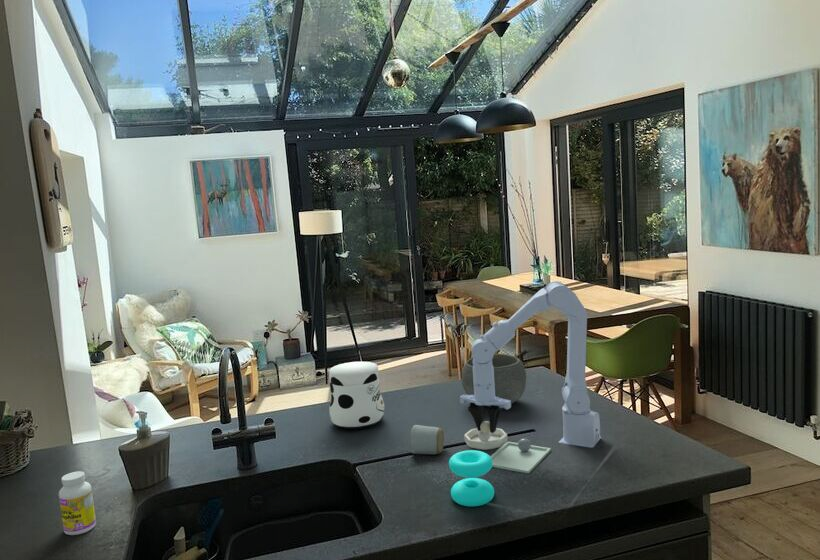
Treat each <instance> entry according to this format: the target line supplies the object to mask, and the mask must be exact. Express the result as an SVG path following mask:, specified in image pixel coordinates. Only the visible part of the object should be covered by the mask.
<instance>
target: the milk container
mask: <svg viewBox="0 0 820 560" xmlns="http://www.w3.org/2000/svg"><path fill="white" fill-rule="evenodd" d="M378 366H379V365H378V364H377V363H375V362H371V361H351V362H344V363H339V364H337V365H334V366H332V367H331V368H330V369H329V373H328V375H329V376H328V377H329V379H328V380H329V390H330V403H329V408H328V409H329V410H328V412H329V417H330V420H331V423H333V424H334V425H335V426H336V427H339V428H341V429H348V430H349V429H352V430H353V429H362V428H368V427H372V426H374V425H376V424H378V423H379V422H380V421H381V420H383V419H384V417H385V402H384V398H383V395H382V392H381V387H380V386H381V385H380V374H379V373H380V371H379V367H378Z"/></svg>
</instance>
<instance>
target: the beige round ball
mask: <svg viewBox="0 0 820 560" xmlns="http://www.w3.org/2000/svg"><path fill="white" fill-rule="evenodd" d="M480 429H481V431H482V432H483V433H490V421H489V420H483V422H482V423H481V425H480Z"/></svg>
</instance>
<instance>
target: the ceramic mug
mask: <svg viewBox="0 0 820 560" xmlns="http://www.w3.org/2000/svg"><path fill="white" fill-rule="evenodd" d="M409 440H410V441H409V443H410V444H409V447H410V452H411V453H412V454H413V455H414V454H415V455H439V454H441V453H442V452H443V450H444V444H445V443H444V442H445V435H444V430H443V429H442V428H441V427H437V426H427V425H420V424H414V425H413V426H412V428H411V431H410V437H409Z"/></svg>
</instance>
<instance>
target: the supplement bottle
mask: <svg viewBox="0 0 820 560" xmlns="http://www.w3.org/2000/svg"><path fill="white" fill-rule="evenodd" d="M85 480H86V474H85V472H84V471H81V470H80V471H79V470H78V471H73V472H69V473H67V474H64V475H63V476H62V477H61V484H62V488H61V489H60V490H59V491H58V499H59V500H58V501H59V507H60V512H61V513H60V514H61V521H62V526H63V527H62V528H63V532H64V533H65V535H69V536H77V535H82V534H84V533H87V532H89V531H91V530H92V529H93V528H94V527H96V524H97V520H96V519H97V518H96V512H95V511H96V510H95V504H94V498H93V497H94V496H93V490H92V485H91V484H90V483H89V482H88V481H85Z"/></svg>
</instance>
